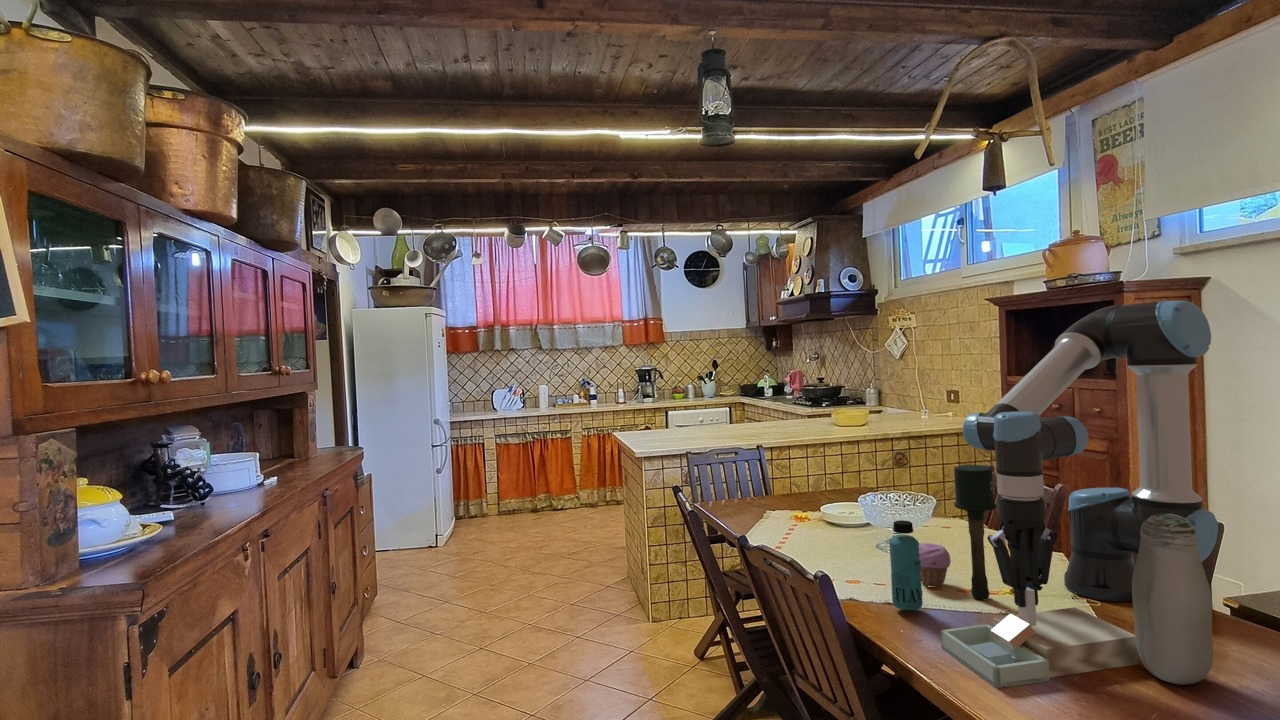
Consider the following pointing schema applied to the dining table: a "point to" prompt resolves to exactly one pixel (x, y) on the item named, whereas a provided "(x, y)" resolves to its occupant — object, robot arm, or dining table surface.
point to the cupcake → (933, 564)
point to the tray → (1020, 672)
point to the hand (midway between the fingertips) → (1027, 623)
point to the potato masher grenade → (975, 516)
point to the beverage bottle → (905, 568)
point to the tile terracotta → (1012, 631)
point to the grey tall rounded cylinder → (1172, 602)
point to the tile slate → (993, 653)
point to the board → (1079, 642)
